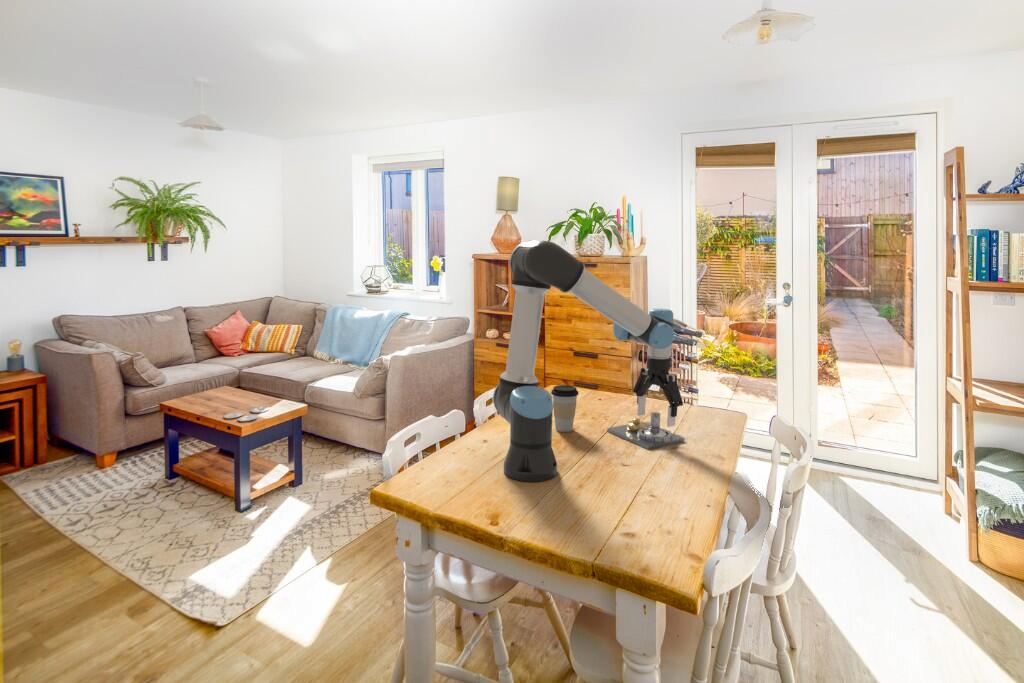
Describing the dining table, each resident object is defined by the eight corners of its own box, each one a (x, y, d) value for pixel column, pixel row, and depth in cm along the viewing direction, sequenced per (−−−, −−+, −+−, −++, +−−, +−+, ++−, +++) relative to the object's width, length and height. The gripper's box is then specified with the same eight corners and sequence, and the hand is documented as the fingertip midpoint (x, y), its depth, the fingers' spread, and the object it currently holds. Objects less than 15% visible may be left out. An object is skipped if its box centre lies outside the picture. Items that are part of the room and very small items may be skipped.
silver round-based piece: (654, 441, 183) (655, 417, 181) (639, 435, 189) (640, 412, 187) (670, 438, 186) (671, 414, 185) (654, 432, 192) (656, 409, 191)
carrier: (648, 449, 179) (649, 435, 178) (607, 431, 196) (607, 418, 195) (684, 441, 187) (685, 427, 186) (642, 424, 204) (642, 411, 203)
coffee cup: (577, 425, 202) (578, 384, 199) (577, 434, 192) (578, 391, 190) (550, 424, 203) (551, 384, 200) (549, 433, 193) (550, 390, 191)
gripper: (697, 362, 174) (693, 429, 178) (640, 349, 195) (637, 409, 199) (679, 365, 170) (675, 432, 174) (624, 351, 192) (621, 412, 195)
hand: (655, 420), depth 186 cm, fingers open, 13 cm apart
